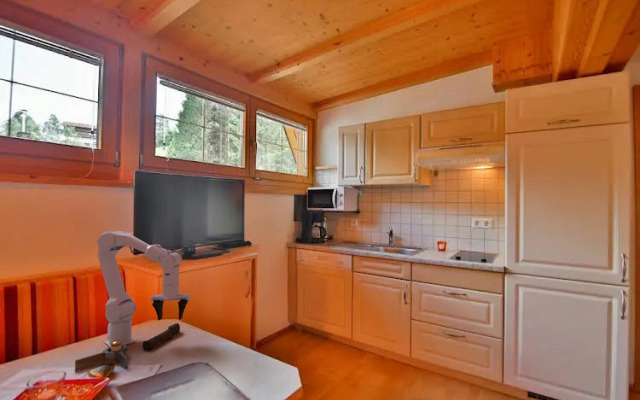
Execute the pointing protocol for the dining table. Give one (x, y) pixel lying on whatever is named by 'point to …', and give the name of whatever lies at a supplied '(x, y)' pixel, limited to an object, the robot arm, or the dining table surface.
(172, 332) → the hand tool
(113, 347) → the bronze pin
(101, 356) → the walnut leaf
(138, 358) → the dining table surface
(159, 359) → the dining table surface
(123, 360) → the grey ring with handle
